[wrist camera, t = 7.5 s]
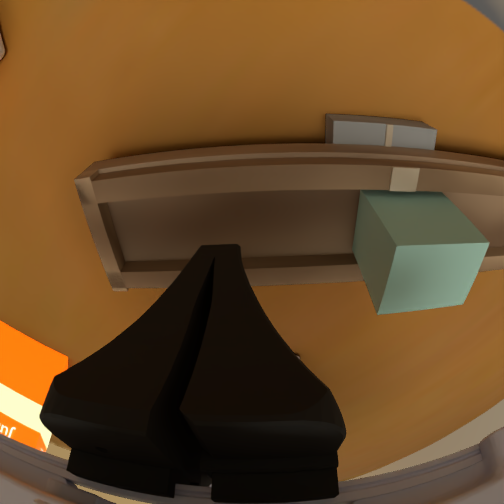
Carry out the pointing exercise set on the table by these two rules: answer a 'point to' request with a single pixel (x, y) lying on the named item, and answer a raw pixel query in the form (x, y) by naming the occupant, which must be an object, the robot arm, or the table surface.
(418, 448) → the table surface
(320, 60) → the table surface
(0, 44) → the container
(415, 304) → the block
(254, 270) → the beam
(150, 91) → the table surface
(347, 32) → the table surface
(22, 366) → the orange juice
